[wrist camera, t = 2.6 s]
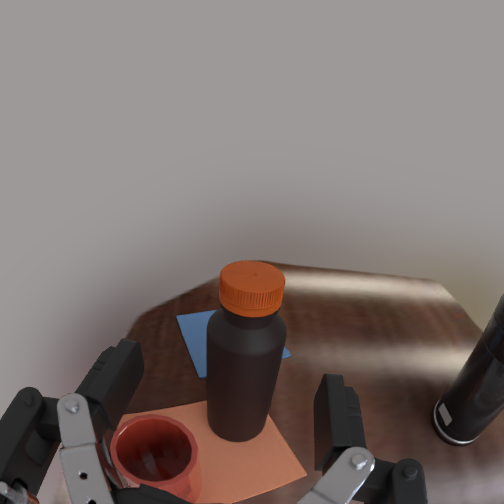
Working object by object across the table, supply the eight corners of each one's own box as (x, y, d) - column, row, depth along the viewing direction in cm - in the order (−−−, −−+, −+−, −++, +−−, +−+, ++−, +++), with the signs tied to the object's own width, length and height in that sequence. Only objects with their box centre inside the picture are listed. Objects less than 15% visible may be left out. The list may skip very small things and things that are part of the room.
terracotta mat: (252, 389, 36) (253, 388, 36) (306, 475, 24) (307, 474, 24) (115, 416, 28) (115, 415, 28) (141, 521, 17) (140, 521, 17)
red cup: (189, 450, 26) (183, 407, 22) (212, 503, 20) (210, 476, 17) (128, 460, 23) (105, 419, 19) (143, 516, 18) (119, 491, 14)
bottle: (218, 450, 27) (224, 307, 18) (200, 405, 32) (198, 258, 24) (274, 434, 29) (315, 291, 21) (251, 393, 35) (273, 251, 26)
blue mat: (252, 305, 54) (252, 303, 54) (290, 356, 42) (291, 354, 42) (176, 317, 48) (176, 315, 48) (199, 378, 37) (199, 377, 36)
